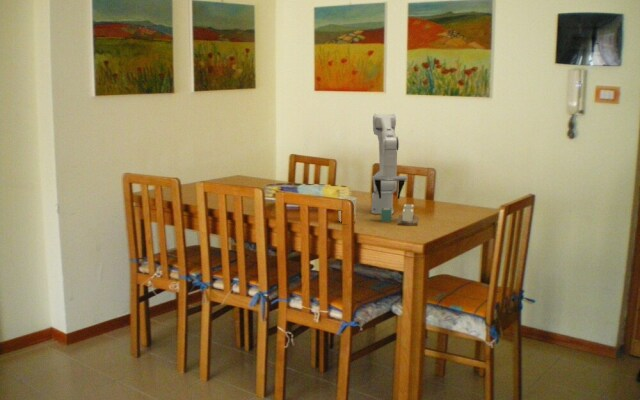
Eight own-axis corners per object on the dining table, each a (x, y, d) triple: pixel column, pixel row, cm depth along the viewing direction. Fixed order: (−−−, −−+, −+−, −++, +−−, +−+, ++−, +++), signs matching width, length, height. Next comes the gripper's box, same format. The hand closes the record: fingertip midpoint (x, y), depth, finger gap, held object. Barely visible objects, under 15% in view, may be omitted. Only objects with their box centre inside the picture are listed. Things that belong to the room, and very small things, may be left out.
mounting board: (397, 225, 281) (397, 220, 281) (399, 217, 296) (399, 213, 296) (417, 225, 280) (417, 221, 279) (418, 217, 295) (418, 213, 295)
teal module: (381, 221, 288) (381, 209, 287) (382, 219, 292) (382, 207, 291) (390, 222, 287) (391, 210, 286) (391, 219, 291) (391, 208, 290)
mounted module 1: (403, 215, 291) (403, 205, 290) (404, 213, 295) (404, 204, 295) (413, 215, 290) (413, 206, 290) (413, 213, 295) (413, 204, 294)
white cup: (343, 219, 292) (343, 195, 291) (359, 221, 288) (360, 197, 287) (334, 222, 286) (334, 198, 284) (351, 224, 282) (351, 200, 280)
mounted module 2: (402, 220, 280) (402, 210, 280) (402, 218, 285) (403, 208, 284) (412, 221, 280) (412, 211, 279) (412, 218, 284) (412, 209, 283)
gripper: (372, 166, 283) (371, 199, 285) (407, 167, 281) (406, 200, 283) (372, 164, 290) (372, 196, 292) (407, 165, 288) (406, 197, 290)
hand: (389, 198), depth 288 cm, fingers open, 7 cm apart
